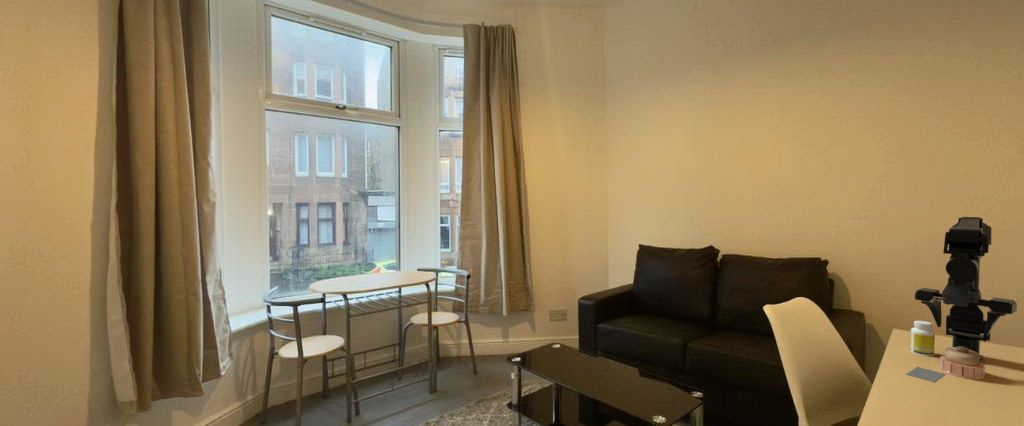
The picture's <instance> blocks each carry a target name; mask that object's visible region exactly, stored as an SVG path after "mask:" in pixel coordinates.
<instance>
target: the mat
mask: <svg viewBox="0 0 1024 426" xmlns="http://www.w3.org/2000/svg"><path fill="white" fill-rule="evenodd" d="M946 375H947V373H945V372H941V371H937V370H932V369H928V368H924V367H920V366H916V367H915V368H912V369H911V370H910V371H908V372H907V373H905V376H909V377H913V378H916V379H921V380H924V381H928V382H932V383H936V382H937V381H939V380H940V379H942V378H943V377H944V376H946Z"/></svg>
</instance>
